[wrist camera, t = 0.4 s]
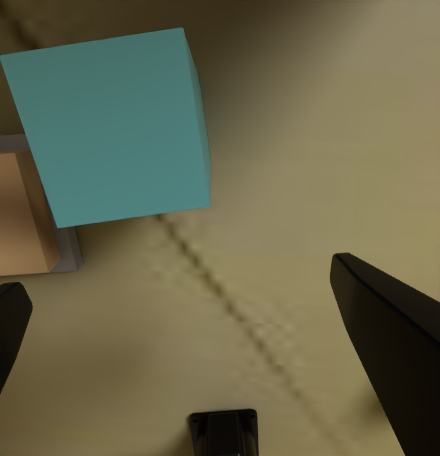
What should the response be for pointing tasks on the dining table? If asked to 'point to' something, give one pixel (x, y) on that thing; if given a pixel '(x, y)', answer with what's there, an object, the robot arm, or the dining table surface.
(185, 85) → the pillar
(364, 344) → the robot arm
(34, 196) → the top slab
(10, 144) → the base slab
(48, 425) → the dining table surface
